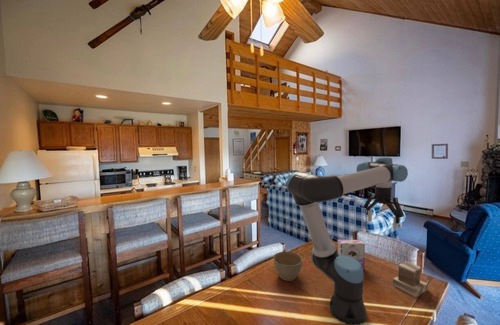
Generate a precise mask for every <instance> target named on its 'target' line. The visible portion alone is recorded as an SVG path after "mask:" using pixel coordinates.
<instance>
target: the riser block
mask: <svg viewBox="0 0 500 325" xmlns="http://www.w3.org/2000/svg"><path fill="white" fill-rule="evenodd" d="M428 284H429V283H427V282H425V281H423V280H421V279H420V283H418V284H417V285H416V286H414V287H413V286H410V285H408V284H406V283H404V282H402V281H400V280H398V275H397V276H395V277H393V278H392V286H393V287H396V288H398V289H400V290H401V291H403V292H405V293H407V294H409V295H411V296H413V297H414V298H418V297H419V296H421V295H422V294H423V293H425V292H427V291H428V286H429V285H428Z"/></svg>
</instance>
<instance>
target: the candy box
mask: <svg viewBox="0 0 500 325" xmlns="http://www.w3.org/2000/svg"><path fill="white" fill-rule="evenodd" d="M365 245H366V244H365V243H364V242H363V241H362V240H361V239H338V241H337V252H338V254H339V255H340V256H342V255H344V256H348V257H352V258H354V259H356V260H357V261H358V262H359V263H360V264H361V265H362V268H363V271H365Z"/></svg>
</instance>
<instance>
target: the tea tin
mask: <svg viewBox="0 0 500 325" xmlns="http://www.w3.org/2000/svg"><path fill="white" fill-rule="evenodd" d="M421 269H422V267H421V266H419V265H417V264H414V263H411V262H409V261H406V260H405V261H403V262H402V263H399V264H398V275H397V276H398V280H400V281H402V282H404V283H406V284H408V285H410V286H413V287H414V286H416V285H417V284H418V283H420V280H421Z"/></svg>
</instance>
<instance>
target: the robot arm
mask: <svg viewBox="0 0 500 325" xmlns="http://www.w3.org/2000/svg"><path fill="white" fill-rule="evenodd" d="M356 165H357V166H356V172H351V173H347V174H343V175H340V176H338V175H336V174H335V175H334V174H333V175H328V176H326V175H325V176H322V175H316V174H311V173H308V172H304V171H296V172H294V173H291V174H290V175H289V176H288V178H287V180H286V183H285V184H286V185H285V186H286V187H285V188H286V190H287V192H288V193H289V194H290V195H292V198H293V200H294V202H295V205H296V206H299V207H300V210H301V212H302V217H303V219H304V222H305V225H306V228H307V230H308V234H309V237H310V239H311V242H312V245H313V247H312V251H311V257H310V258H311V261H312V263H313V265H314V266H315V267H316V269H317V270H319V271H320V272H321V273H323V274H324V275H325V276H326V277H328V278H329V279H330V280H331V281H332V282H333V294H332V296H331V299H330V300H329V311H330V313H331V315H332V316H333V317H334V318H335V319H336V320H338V321H339V322H341V323H343V324H347V325H362V324H364V323H366V321H367V314H368V313H367V309H366V306H365V302H364V299H363V296H364V295H363V293H364V292H363V291H364V270H363V268H362V265H361V264H360V263H359V262H358V261H357V260H356V259H354V258H352V257H348V256H344V255H342V256H340V255H339V254H338V248H337V247H336V245H335V243H334V242H333V241H331V237H330V235H329V232H328V231H329V230H328V229H327V226H326V225H327V224H326V222H325V219H324V215H323V213H322V209H321V208H320V205H319V203H323V202H329V201H331V200H332V201H333V200H336V199H340V198H343V196H344V195H346V194H348V193H349V194H350V193H352V192H353V193H354V192H356V191H360V190H363V189H367V188H370V187H371V188H372V187H374V192H371V193H368V198H367V199H366V200H365V201H366V202H364V204H363V209H366V216H367V222H368V223H370V222H372V220H373V210H372V209H373V208H374V207H375V206H376V205H377V204H383V205H386V207H388V209H389V210H390V212H391V213H392V214H393V220H392V221H393V223H392V225H393V226H392V227H393V228H392V230H393V231H396V230H398V226H399V224H400V222H401V221H400V220H401V219H400V218H403V217H405V214H404V211H403V210H402V207H401V204H400V203H399V197H397V196H396V197H392V185H393V182H396V183H397V182H399V183H400V182H404V181H406V179H407V178H408V175H409V174H408V172H409V169H408V168H407V167H406V166H405V165H404V164H398V163H393V158H392V157H388V156H387V157H385V156H384V157H383V156H379V157H376V159H375V161H365V162H359V163H358V164H356ZM374 198H375V199H374ZM373 199H374V200H373ZM371 202H372V203H371Z"/></svg>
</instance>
